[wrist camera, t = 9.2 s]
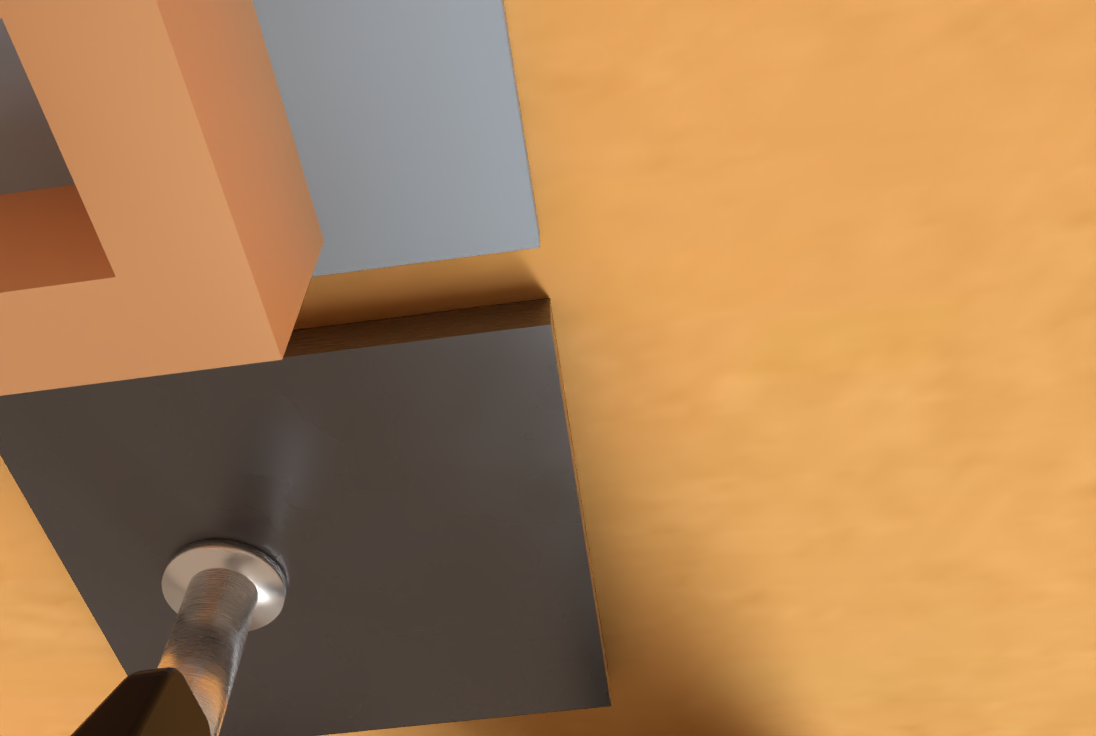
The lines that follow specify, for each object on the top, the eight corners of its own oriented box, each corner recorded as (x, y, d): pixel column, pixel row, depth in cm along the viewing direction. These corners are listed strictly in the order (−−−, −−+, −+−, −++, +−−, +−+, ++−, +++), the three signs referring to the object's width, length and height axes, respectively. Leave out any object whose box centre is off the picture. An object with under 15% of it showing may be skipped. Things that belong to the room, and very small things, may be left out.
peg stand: (608, 674, 27) (628, 918, 22) (181, 719, 28) (100, 964, 23) (549, 298, 21) (557, 517, 15) (-12, 368, 21) (-192, 601, 16)
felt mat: (539, 233, 20) (539, 247, 19) (2, 302, 20) (-11, 318, 20) (453, -317, 15) (450, -317, 14) (-257, -200, 15) (-284, -196, 15)
